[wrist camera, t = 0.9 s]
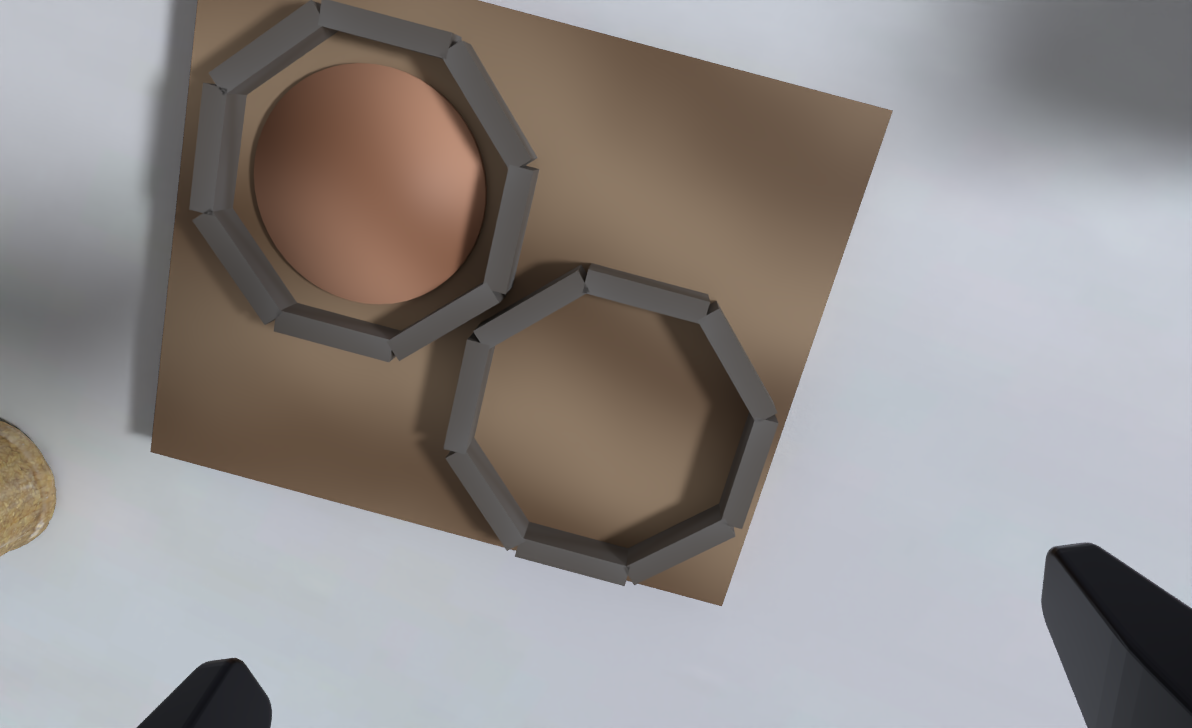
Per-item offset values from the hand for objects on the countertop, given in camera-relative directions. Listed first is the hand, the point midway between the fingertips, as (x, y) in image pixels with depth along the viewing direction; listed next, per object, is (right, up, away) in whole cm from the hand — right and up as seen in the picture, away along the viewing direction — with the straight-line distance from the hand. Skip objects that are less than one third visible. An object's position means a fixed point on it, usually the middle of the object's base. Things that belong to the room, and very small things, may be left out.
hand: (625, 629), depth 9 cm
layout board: (-3, +5, +14) cm, 15 cm away
